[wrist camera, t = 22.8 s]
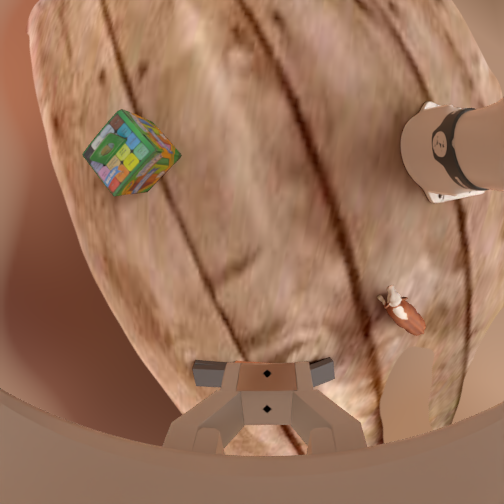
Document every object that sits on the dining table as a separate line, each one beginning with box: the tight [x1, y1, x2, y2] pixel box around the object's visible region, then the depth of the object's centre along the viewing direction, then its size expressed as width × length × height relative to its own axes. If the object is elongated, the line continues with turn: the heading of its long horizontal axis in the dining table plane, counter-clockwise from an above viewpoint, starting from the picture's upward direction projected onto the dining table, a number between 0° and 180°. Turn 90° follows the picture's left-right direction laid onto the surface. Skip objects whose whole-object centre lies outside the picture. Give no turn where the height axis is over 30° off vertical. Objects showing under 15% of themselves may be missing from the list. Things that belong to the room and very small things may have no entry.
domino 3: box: [309, 357, 335, 387], centre depth 51 cm, size 2×5×8 cm
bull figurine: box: [377, 285, 426, 336], centre depth 44 cm, size 4×13×8 cm, turn 47°
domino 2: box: [192, 364, 226, 387], centre depth 53 cm, size 2×5×8 cm
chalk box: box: [82, 109, 181, 196], centre depth 37 cm, size 9×9×15 cm
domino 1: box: [195, 360, 227, 365], centre depth 54 cm, size 2×5×8 cm
